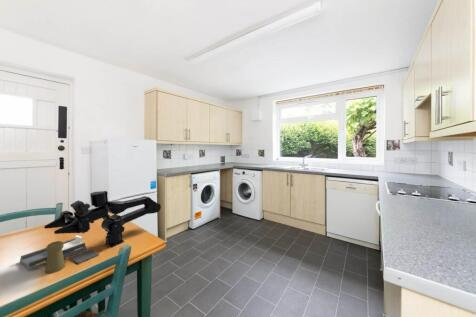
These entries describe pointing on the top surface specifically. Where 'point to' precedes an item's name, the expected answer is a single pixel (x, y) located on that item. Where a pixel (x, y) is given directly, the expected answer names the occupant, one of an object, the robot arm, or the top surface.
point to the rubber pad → (84, 256)
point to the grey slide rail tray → (40, 256)
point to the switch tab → (73, 242)
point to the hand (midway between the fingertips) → (49, 229)
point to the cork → (54, 257)
